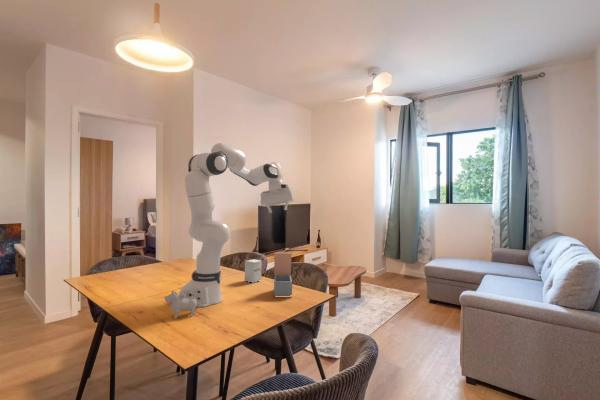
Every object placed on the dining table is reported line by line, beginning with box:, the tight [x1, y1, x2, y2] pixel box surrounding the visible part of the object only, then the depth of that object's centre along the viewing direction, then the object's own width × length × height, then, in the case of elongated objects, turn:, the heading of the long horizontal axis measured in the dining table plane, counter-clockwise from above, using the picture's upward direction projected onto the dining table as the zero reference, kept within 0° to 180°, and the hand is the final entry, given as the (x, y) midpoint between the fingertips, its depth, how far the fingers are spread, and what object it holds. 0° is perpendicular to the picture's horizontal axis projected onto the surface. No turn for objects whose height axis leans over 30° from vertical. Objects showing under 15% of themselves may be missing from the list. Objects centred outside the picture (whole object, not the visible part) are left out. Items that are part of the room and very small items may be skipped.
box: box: [273, 274, 293, 297], centre depth 160 cm, size 9×13×8 cm
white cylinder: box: [244, 258, 263, 284], centre depth 182 cm, size 7×7×13 cm
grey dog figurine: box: [163, 290, 197, 319], centre depth 127 cm, size 5×13×11 cm, turn 112°
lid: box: [273, 251, 293, 276], centre depth 165 cm, size 9×13×1 cm
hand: (277, 211), depth 177 cm, fingers open, 8 cm apart
